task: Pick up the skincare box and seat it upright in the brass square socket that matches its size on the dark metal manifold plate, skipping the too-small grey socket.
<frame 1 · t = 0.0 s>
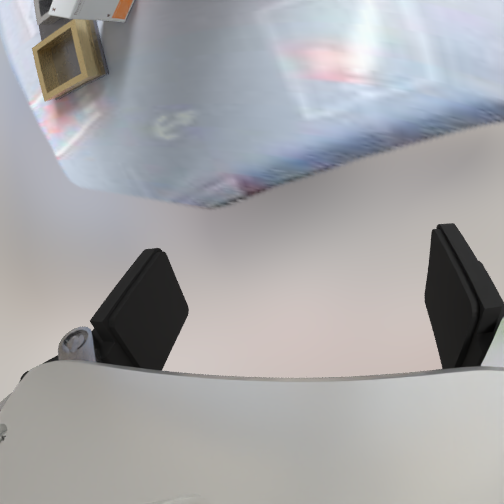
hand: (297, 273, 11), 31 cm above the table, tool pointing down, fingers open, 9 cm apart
manifold plate: (68, 31, 33), on the table
skincare box: (123, 1, 30), on the table
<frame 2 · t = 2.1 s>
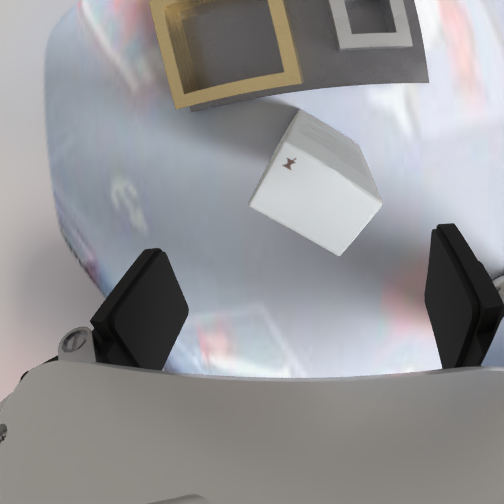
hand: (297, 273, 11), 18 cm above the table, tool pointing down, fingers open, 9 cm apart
manifold plate: (295, 27, 20), on the table
skincare box: (318, 146, 26), on the table
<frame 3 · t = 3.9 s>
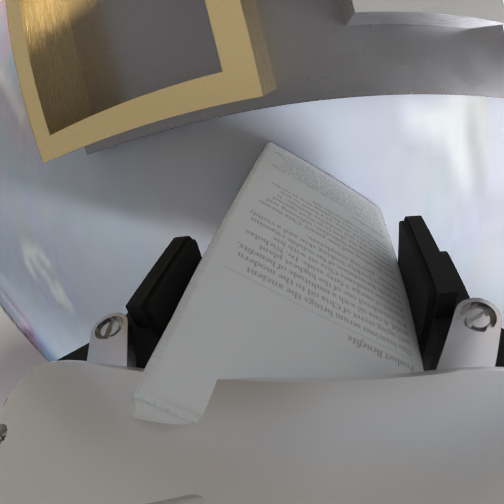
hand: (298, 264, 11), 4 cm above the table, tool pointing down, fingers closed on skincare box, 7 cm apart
skincare box: (305, 208, 15), on the table, touching gripper
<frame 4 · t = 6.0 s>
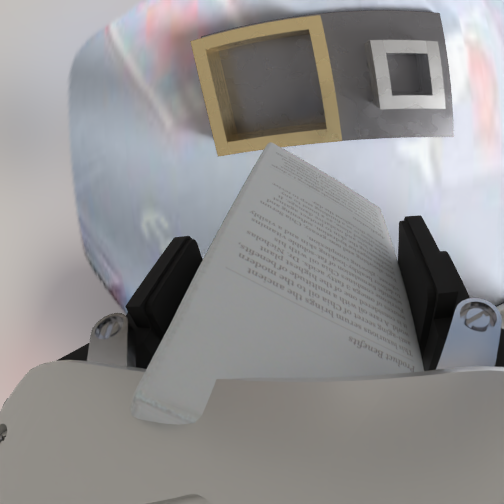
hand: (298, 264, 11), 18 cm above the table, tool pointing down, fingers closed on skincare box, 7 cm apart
manifold plate: (333, 76, 23), on the table
skincare box: (306, 208, 15), point 14 cm above the table, touching gripper
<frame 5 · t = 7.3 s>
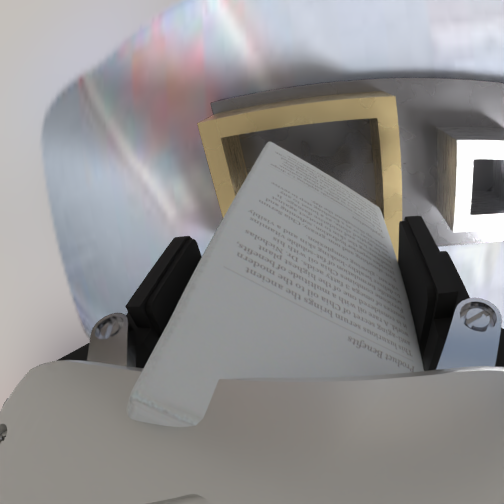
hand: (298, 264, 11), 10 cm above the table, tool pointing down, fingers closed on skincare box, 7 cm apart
manifold plate: (390, 166, 18), on the table
skincare box: (305, 208, 15), point 5 cm above the table, touching gripper
when the fingers open (7 cm above the table, at t = 8.4 s): skincare box drops 1 cm, resting on manifold plate.
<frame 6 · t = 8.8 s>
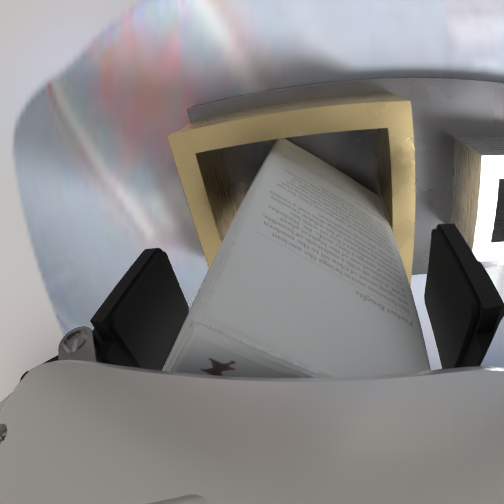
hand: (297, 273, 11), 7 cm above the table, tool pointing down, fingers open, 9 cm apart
manifold plate: (399, 182, 15), on the table
skincare box: (312, 197, 16), point 1 cm above the table, touching manifold plate
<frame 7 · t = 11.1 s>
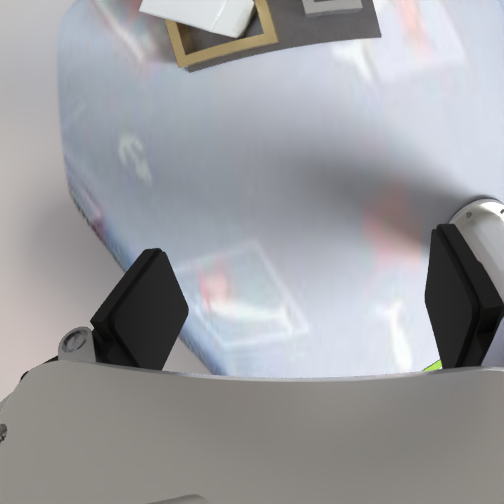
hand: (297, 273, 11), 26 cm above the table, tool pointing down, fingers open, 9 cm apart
manifold plate: (271, 2, 24), on the table
skincare box: (224, 13, 25), point 1 cm above the table, touching manifold plate
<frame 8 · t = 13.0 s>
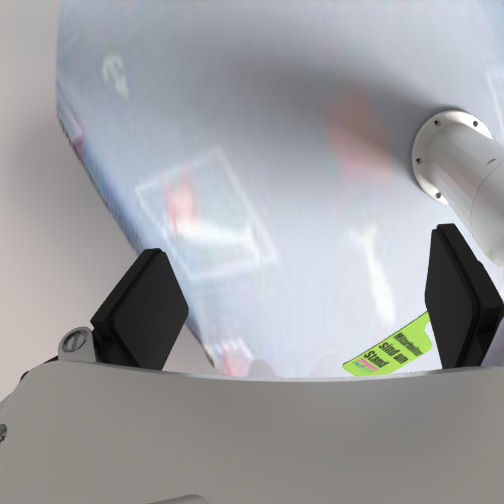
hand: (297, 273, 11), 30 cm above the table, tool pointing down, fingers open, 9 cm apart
door hanger: (405, 344, 53), on the table
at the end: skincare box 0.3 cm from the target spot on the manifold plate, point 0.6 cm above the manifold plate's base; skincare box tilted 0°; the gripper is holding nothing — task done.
